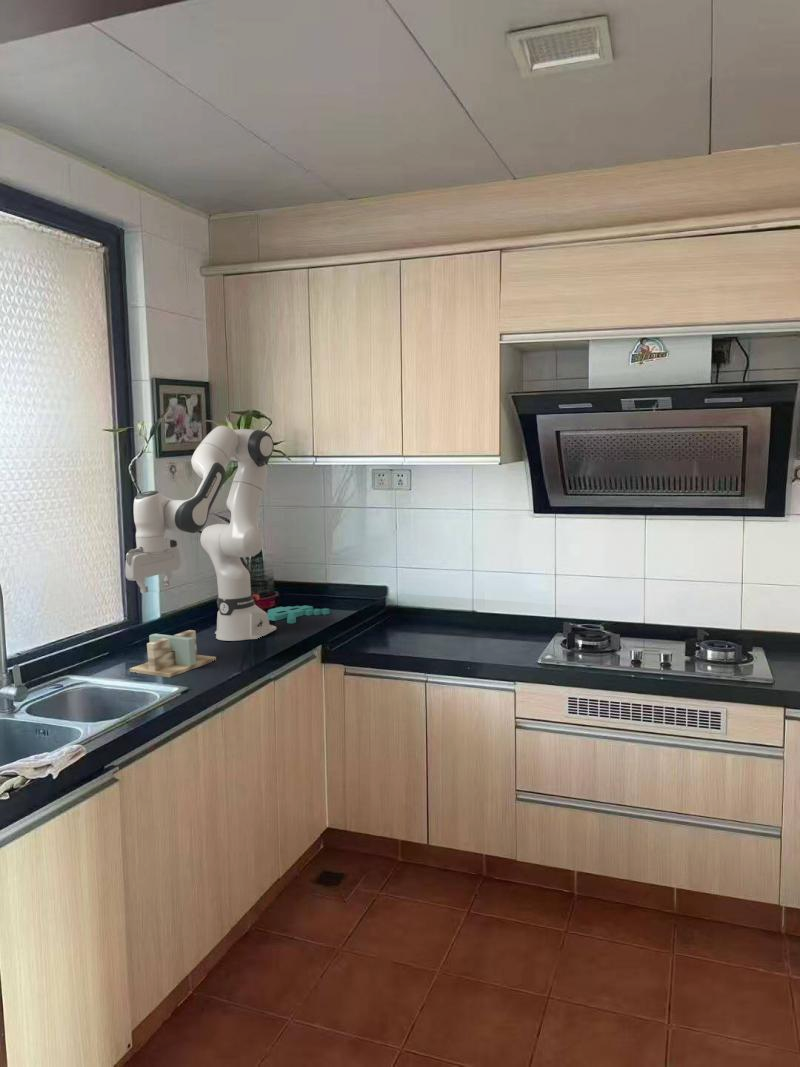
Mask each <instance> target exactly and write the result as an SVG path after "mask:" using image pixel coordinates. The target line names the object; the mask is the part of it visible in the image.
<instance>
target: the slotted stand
mask: <svg viewBox="0 0 800 1067" xmlns="http://www.w3.org/2000/svg"><path fill="white" fill-rule="evenodd" d="M196 632H197V631H196V630H193V629H189V630H184V631H182V632H179V633H176V634H173V636H180V637H189V638H194V639H195V654H196V664H195V665H192V666H185V665H177V664H176V658H175V651H170V639H166V638H162V639H159V640H156V641H153V642H150V641H149V642H147V643H146V648H147V650H146V651H147V662H144V663H142V664H138V665H136V666H133V667H129V672H130V673H135V672H136V673H137V674H144V675H149V676H150V675H152V676H157V677H158V676H159V677H164V678H172V677H176V676H178V675H181V674H183V673H186V672H189V671H191V670H193V669H196V668H199V667H202V666H205V665H207V664H211V663H212V661H213V662H214V660H215V661H217V656H213V655H212V656H211V655H204V654H203V655H202V654H198V649H197V647H198V646H197V635H196V634H197V633H196Z"/></svg>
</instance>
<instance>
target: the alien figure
mask: <svg viewBox="0 0 800 1067" xmlns="http://www.w3.org/2000/svg"><path fill="white" fill-rule="evenodd" d="M266 613H267V614H268V617H269V621H273V622H276V621H280V620H283V619H286V624H295V623H296V622H297V618H298V617H303V616H313V615H314V616H318V615H319V616H320V615H324V616H325V615H329V614H330V608H326V607H324V608H321V609H320V608H315V609H314V606H311V605H295V606H291V605H290V606H285V607H284V606H279V607H275V608H270V609H268V610H267V612H266Z"/></svg>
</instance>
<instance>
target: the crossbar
mask: <svg viewBox="0 0 800 1067" xmlns="http://www.w3.org/2000/svg"><path fill="white" fill-rule="evenodd" d="M162 638H166V639H170V651H175V658H176V664H177V665H185V666H192V665H195V664H196V654H195V639H194V638H189V637H180V636H174V635H170V634H160V633H152V634H150V635H148V639H149V643H150V642H153V641H156V640H159V639H162Z"/></svg>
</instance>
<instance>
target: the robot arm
mask: <svg viewBox="0 0 800 1067" xmlns="http://www.w3.org/2000/svg"><path fill="white" fill-rule="evenodd" d="M273 453H274V440H273V437H272V435H271V434H270V433H268V432H266V431H264V430H261V429H256V430H255V429H251V428H250V429H248V428H241V429H239V428H238V429H232V428H231V427H229V426H227V425H218V426H216V427H214V428H213V429H212V430H210V432H209V433H208V434H207V435H206V436H205V437H204V438H203V440H201V442H200V443H199V445H197V447H196V449H195V450H194V452H193V454H192V457H191V459H190V462H191V467H192V469H193V471H194V473H196V475H197V476H198V477H199V478H201V479H202V481H201V482H200V484H199V486H198V488H197V490H196V492H195V494H194V495H193V497H191V498H188V499H173V498H169V497H167V496H165V495H164V494H161V493H160V492H159V491H158V490H148V491H144V492H141V493H138V494H137V495H136V496H135V497H134V500H133V521H134V524H135V525H134V526H135V529H136V531H135V543H136V548H131V549H129V551H127V553H126V555H125V559H126V560H125V571H124V572H125V578H126V579H127V580H128V581H133V582H134V581H136V585H137V586H138V587H139V589H140V593H141V594H146V593H148V592H149V587H148V586H146V584H145V582H146V578H151V577H155V576H158V575H162V574H163V575H165V576H164V579H163V580H162V587H164V588H165V587H166V588H168V587H170V586H171V579H172V577H173V572H174V571H178V570H180V568H181V566H182V560H181V552H180V550H179V549H180V548H178V547H179V544H180V543H179V540H178V539H175V538H169V537H167V533H166V531H173V532H183V533H189V534H195V533H198V532H200V531H202V532H201V534H200V540H199V542H200V545H201V547H202V549H203V550H204V551H205V552H206V553H207V555H208V556H209V558H210V560H211V562H212V565H213V567H214V572H215V575H216V581H217V582H216V584H217V594H218V596H217V599H216V604H217V608H218V611H217V616H216V617H217V618H216V630H215V631H214V635H215V634H216V635H215V639H217V640H219V641H231V642H236V641H238V642H239V641H246V640H258V638H259V639H261V638H262V636H263V637H264V636H267V635H268V634H271V633H273V632H274V631H277V626H275V625H273V624H270V620H269V617H268V614H267V613H268V612H266V611H265V610H263V609H262V608H260V607H259V606H258V605H256V602H255V601H259V600H260V594H255V593H253V594H252V587H251V575H250V572H249V570H248V569H247V568H246V567H245V566H244V564H243V562H242V560H241V558H250V557H254V556H257V555H258V554H260V552H261V551H262V550H263V547H264V542H265V541H264V536H263V534H262V532H261V530H260V528H259V522H258V514H259V509H260V505H261V501H262V497H263V495H264V490H265V487H266V483H267V475H268V465H267V463H268V462H269V461H270V458H271V457H272V455H273ZM231 461H234V462H237V469H236V472H235V475H234V477H233V479H232V483H231V486H230V489H229V492H228V496H227V499H226V503H225V504H226V508H227V509H228V510H229V511H230V521H229V523H216V524H210V525H207V526H206V524H207V522H208V519H209V516H210V511H211V509H212V506H213V504H214V502H215V500H216V499H217V498H216V497H218V494H219V492H220V491H221V487H222V485H224V481H225V478H226V468H227V466H228V465H229V463H230V462H231ZM205 526H206V527H205ZM260 637H261V638H260Z"/></svg>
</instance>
